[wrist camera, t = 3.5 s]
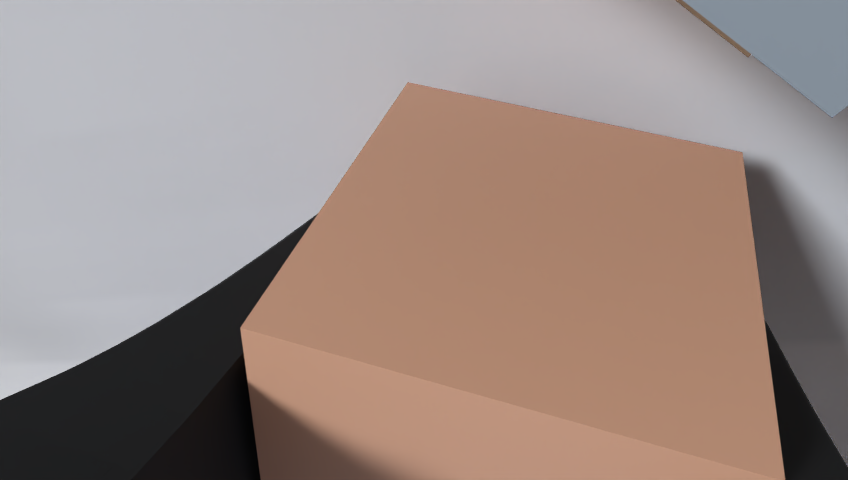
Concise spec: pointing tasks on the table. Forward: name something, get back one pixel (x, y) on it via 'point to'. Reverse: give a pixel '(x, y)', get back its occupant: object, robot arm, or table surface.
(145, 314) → the table surface
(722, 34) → the tower base
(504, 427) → the terracotta block
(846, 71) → the tower top
